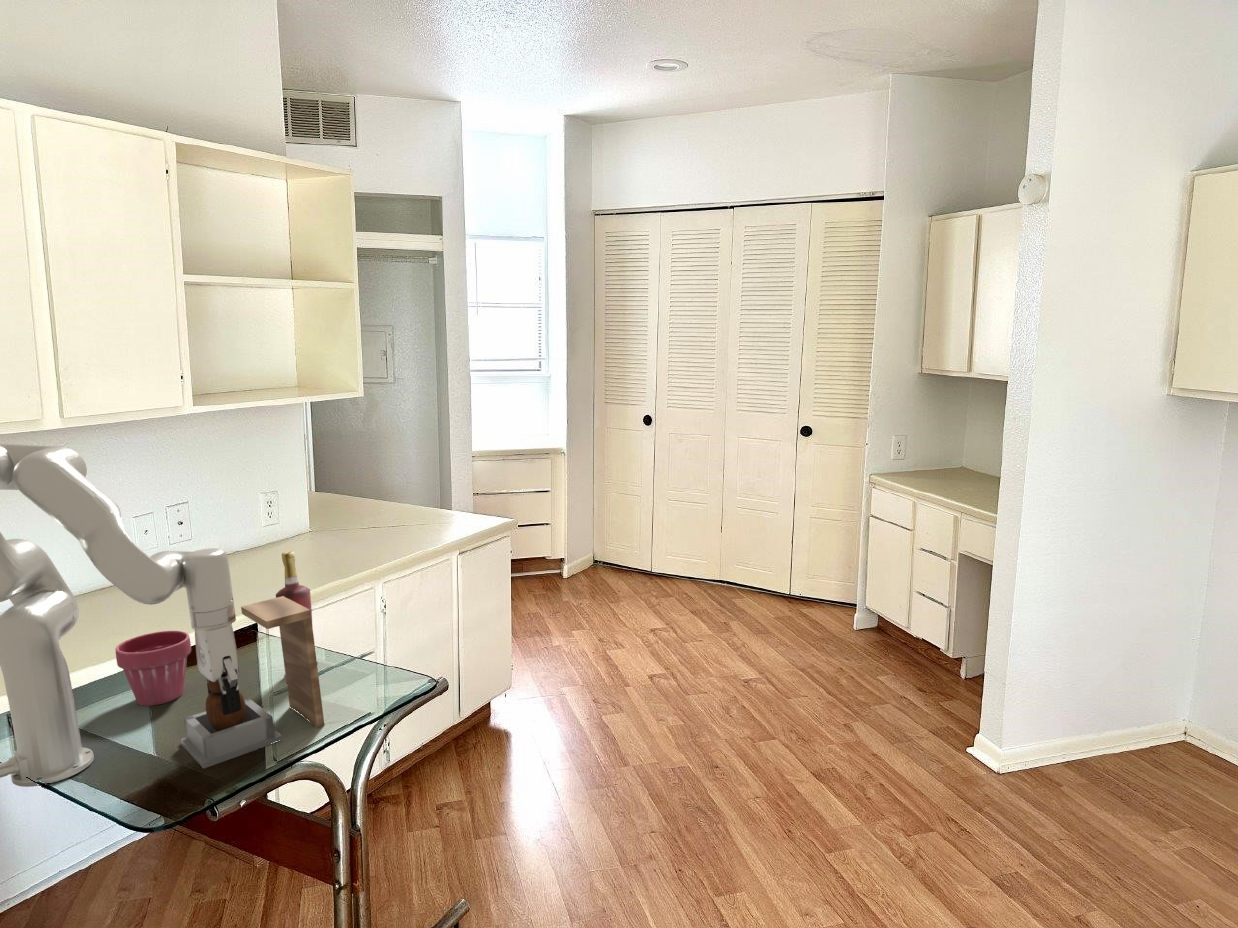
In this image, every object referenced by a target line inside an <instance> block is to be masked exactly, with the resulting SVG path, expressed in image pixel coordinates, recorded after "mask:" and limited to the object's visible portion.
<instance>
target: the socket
mask: <svg viewBox="0 0 1238 928" xmlns="http://www.w3.org/2000/svg"><path fill="white" fill-rule="evenodd" d="M244 700H245V706H246V708H245V717H244V720H243V723H242V724H239V725H236V726H233V727H230V728H227V729H224V730H222V731H216V730H215V729H214V728H213V727H212V726H211V724H210V722H209V720H208V718H207V714H206V710H205V711H202V712H199V713H195V714H193V715H190V716H186V717H184V718H183V720H184V728H185V735H186V737H182V738H180V744H181V745H182V747H183V748H184V749H185V750H186V751H187V752H188V753H189V755H191V757H193V759H194V760H195V761H196V763H198V764H199V766H201V768H202V769H208V768H209V767H212V766H215V765H218V764H221V763H223V762H226V761H230V760H231V759H234V758H237V757H240V756H242V755H246V754H248V753H251V752H255V751H257V750H259V748H260V749H263V748H265V747H267V746H266V745H268V746H270V745H269V744H271V743H273V742H275V741H279V740H281V739H282V740H283V738H282V735H281V733H279V732H278V731H277V730H276V729H275V726H274V717H273V716H272V715H271V714H270V713H269V712H267V711H266V710H265V709H264V708H262V707H261V706H260V705H258V704H257V702H255V701H254V700H253V699H251V698H250V697H246V698H244ZM279 742H280V741H279ZM271 745H272V744H271Z"/></svg>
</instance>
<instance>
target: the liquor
mask: <svg viewBox="0 0 1238 928" xmlns="http://www.w3.org/2000/svg"><path fill="white" fill-rule="evenodd" d="M281 560H282V563H283V567H284V587H282V588H280V589H279V590H278V591H277V592H276V593H275V598H278V597H282V596H284V597H286V598H288V599H290V600H292V601H294V602H296V603H298V604H300V605H302V606H304V607H306V608H308V609H310V611H311V619H312V620H313V614H312V613H313V612H312V611H313V610H312V609H313V608H312V598H311V588H308V586H305V585H302V584H300V582H299V578H298V572H297V570H296V555H295V551H286V552H282V553H281ZM318 664H319V662H318V661H317V666H318Z"/></svg>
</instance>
